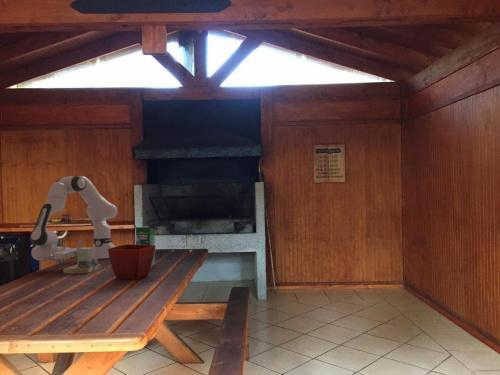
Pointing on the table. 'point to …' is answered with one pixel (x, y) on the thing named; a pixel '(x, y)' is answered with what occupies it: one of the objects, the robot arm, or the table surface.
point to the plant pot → (131, 260)
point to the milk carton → (145, 237)
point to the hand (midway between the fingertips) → (78, 253)
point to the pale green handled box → (84, 254)
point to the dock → (84, 267)
